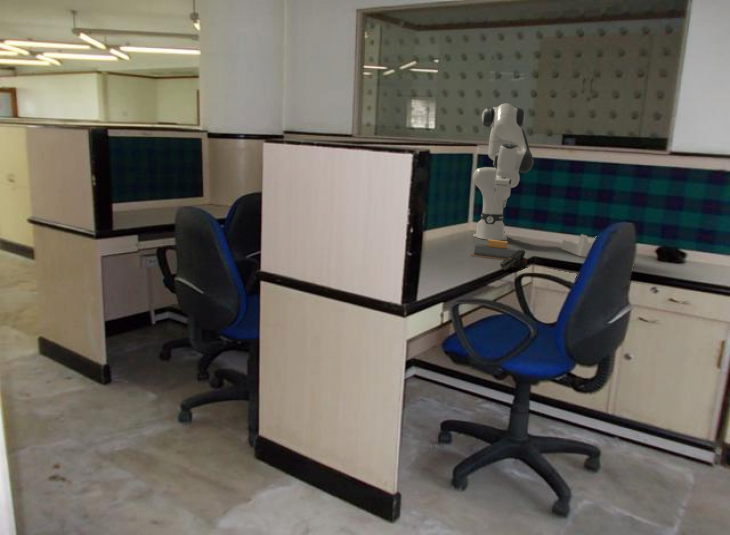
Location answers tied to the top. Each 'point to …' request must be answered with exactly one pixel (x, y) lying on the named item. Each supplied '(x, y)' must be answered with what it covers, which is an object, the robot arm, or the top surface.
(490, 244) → the orange arch block
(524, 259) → the toy gun
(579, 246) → the tape dispenser
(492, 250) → the rail board
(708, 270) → the top surface
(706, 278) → the top surface
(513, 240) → the top surface
